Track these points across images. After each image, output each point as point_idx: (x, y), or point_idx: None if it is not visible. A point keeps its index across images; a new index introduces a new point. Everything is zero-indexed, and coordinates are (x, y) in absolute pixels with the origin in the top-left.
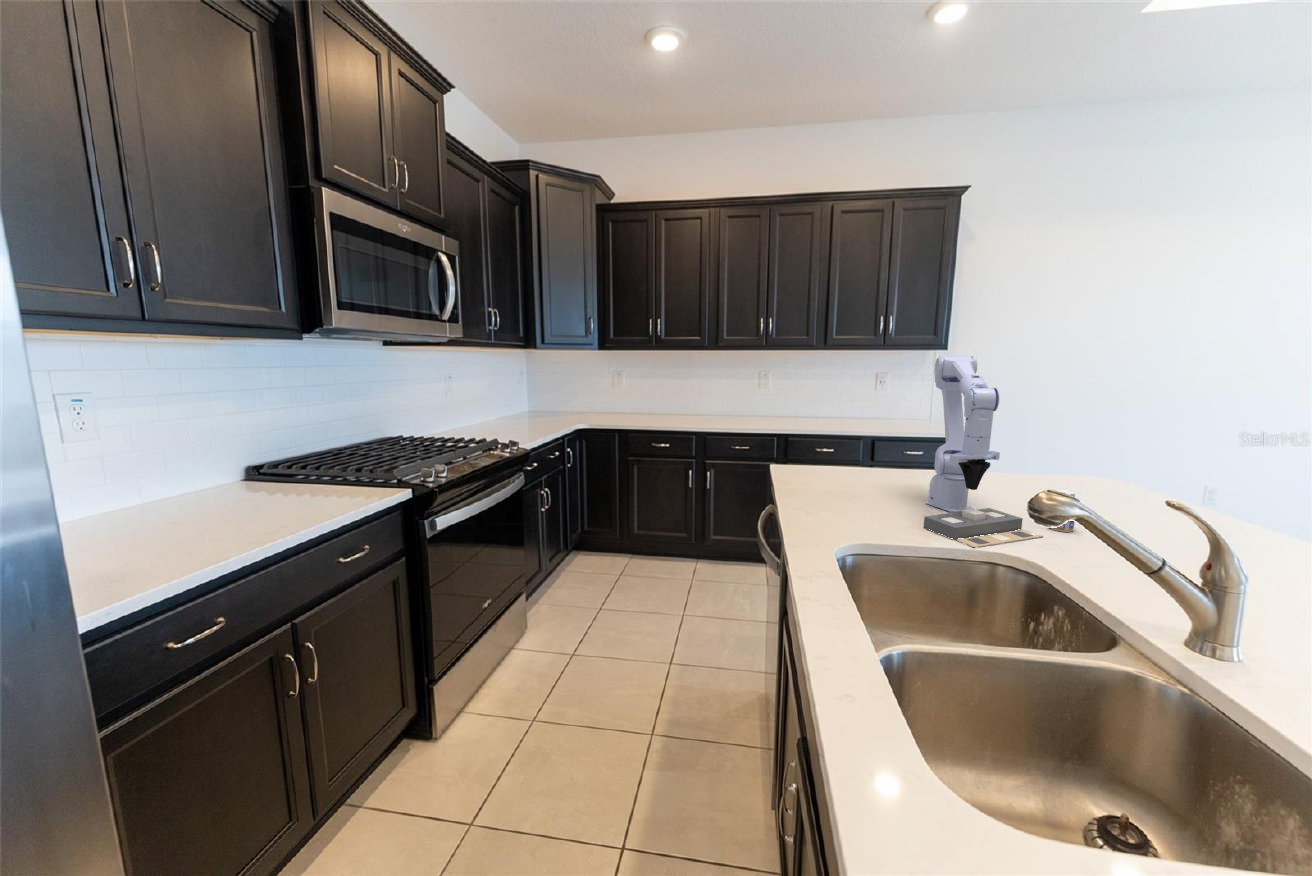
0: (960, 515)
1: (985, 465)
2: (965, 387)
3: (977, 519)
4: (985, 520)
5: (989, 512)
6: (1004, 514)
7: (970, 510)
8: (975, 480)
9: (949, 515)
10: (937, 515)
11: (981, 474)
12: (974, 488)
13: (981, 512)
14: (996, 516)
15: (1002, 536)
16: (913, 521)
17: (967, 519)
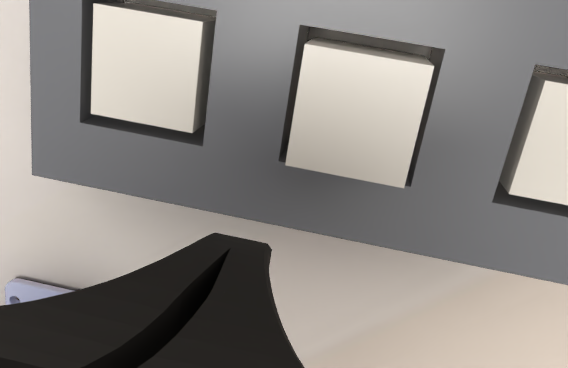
0: None
1: (49, 364)
2: None
3: (395, 55)
4: (352, 13)
5: (130, 115)
6: (69, 31)
7: (350, 150)
8: (255, 286)
9: (471, 224)
10: (555, 268)
11: (132, 302)
12: (252, 245)
13: (324, 72)
14: (174, 30)
15: None
16: (540, 355)
17: (455, 100)
